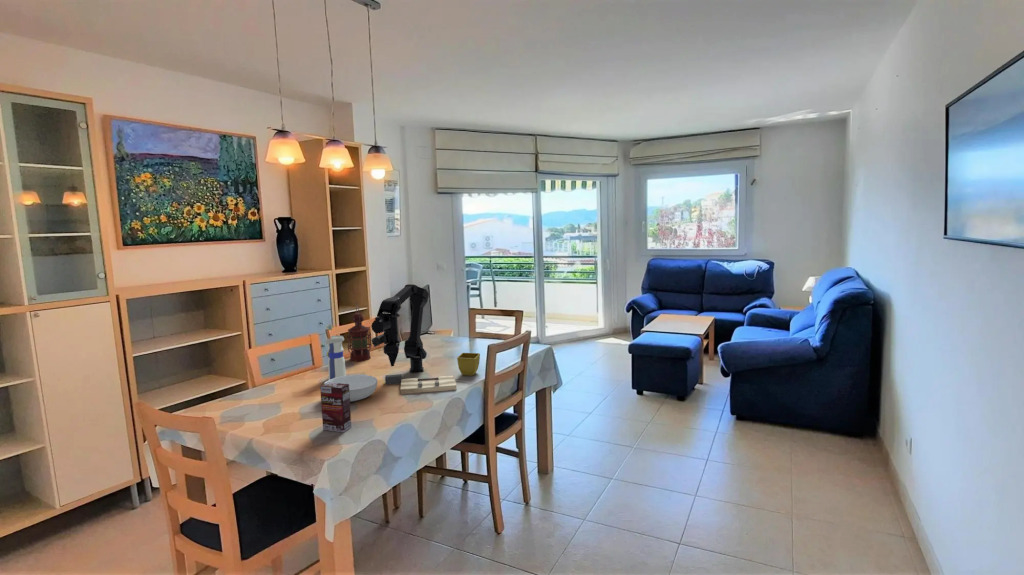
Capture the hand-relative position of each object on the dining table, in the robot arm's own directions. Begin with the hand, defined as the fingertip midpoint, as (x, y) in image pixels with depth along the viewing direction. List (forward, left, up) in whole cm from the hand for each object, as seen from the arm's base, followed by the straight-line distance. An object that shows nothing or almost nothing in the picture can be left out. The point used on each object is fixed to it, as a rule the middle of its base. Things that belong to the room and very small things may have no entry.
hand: (392, 363), depth 227 cm
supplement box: (+48, -17, -9) cm, 52 cm away
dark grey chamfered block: (0, 0, -9) cm, 9 cm away
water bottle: (-13, -26, -9) cm, 31 cm away
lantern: (-46, -19, -9) cm, 51 cm away
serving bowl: (+16, -16, -9) cm, 25 cm away
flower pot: (-5, +34, -9) cm, 35 cm away
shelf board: (+9, +15, -9) cm, 20 cm away
